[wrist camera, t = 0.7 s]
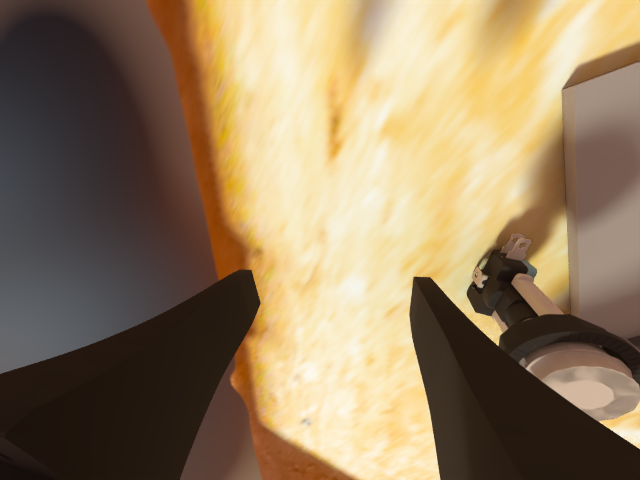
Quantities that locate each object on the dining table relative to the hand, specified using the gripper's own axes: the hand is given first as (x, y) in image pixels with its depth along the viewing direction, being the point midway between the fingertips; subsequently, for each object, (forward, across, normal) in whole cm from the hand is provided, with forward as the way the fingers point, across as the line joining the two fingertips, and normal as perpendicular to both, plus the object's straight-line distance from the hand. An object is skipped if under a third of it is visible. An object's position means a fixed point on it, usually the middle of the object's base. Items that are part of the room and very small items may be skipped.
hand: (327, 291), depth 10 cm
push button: (+10, -12, +5) cm, 17 cm away
